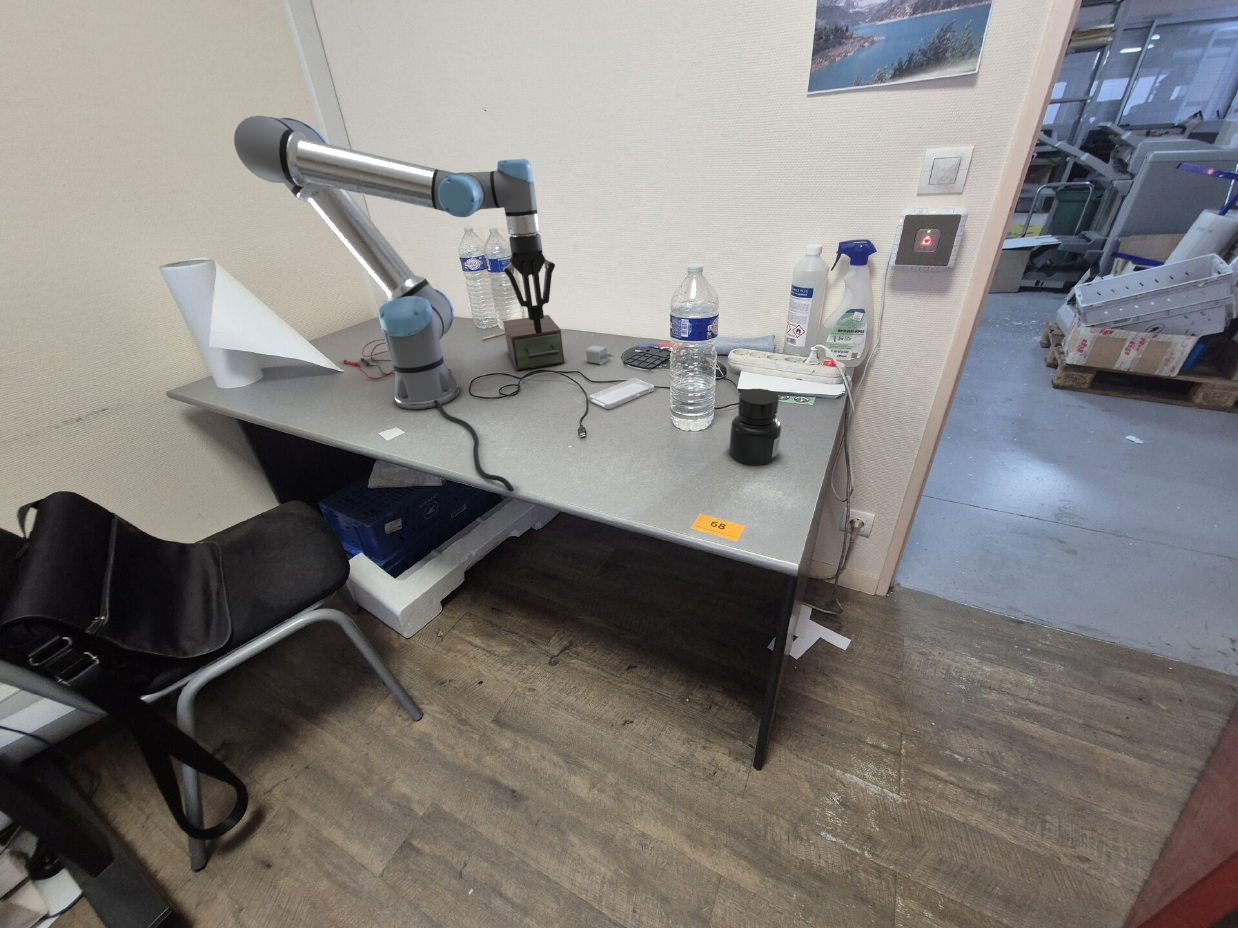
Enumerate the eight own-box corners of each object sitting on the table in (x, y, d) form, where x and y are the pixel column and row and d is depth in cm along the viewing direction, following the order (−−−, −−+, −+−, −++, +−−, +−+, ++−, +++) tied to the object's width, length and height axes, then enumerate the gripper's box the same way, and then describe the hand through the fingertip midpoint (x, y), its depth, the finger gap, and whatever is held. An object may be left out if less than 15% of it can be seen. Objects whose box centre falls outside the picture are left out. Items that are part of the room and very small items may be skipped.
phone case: (634, 382, 128) (588, 401, 120) (634, 377, 127) (588, 395, 119) (655, 390, 123) (608, 410, 115) (655, 385, 122) (608, 404, 114)
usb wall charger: (594, 358, 144) (593, 344, 142) (615, 361, 141) (614, 348, 139) (587, 363, 142) (586, 349, 139) (608, 366, 138) (607, 352, 136)
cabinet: (564, 363, 142) (560, 329, 137) (516, 370, 139) (511, 336, 134) (552, 345, 156) (548, 314, 151) (508, 352, 153) (503, 321, 147)
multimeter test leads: (412, 330, 162) (442, 347, 145) (416, 343, 165) (446, 362, 148) (335, 347, 150) (358, 369, 133) (340, 362, 153) (363, 384, 136)
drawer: (568, 369, 136) (565, 341, 131) (523, 377, 133) (518, 348, 128) (551, 345, 153) (548, 319, 149) (510, 351, 150) (506, 325, 146)
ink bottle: (786, 463, 92) (795, 404, 86) (741, 470, 91) (747, 411, 85) (763, 438, 100) (769, 382, 94) (721, 445, 99) (725, 388, 93)
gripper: (547, 230, 125) (559, 324, 137) (495, 235, 122) (511, 331, 134) (554, 233, 119) (565, 331, 131) (499, 239, 115) (515, 339, 128)
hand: (538, 331), depth 133 cm, fingers closed
